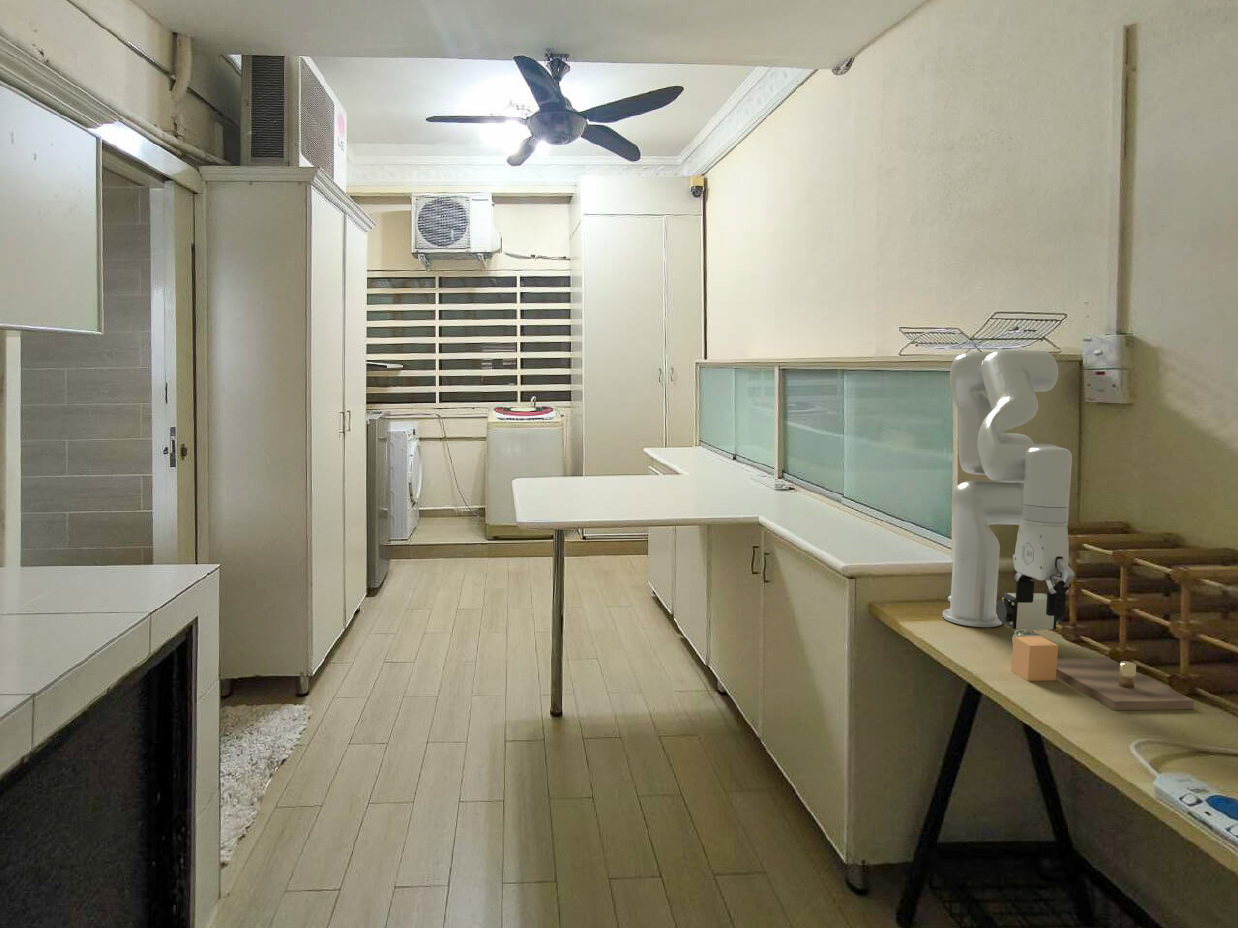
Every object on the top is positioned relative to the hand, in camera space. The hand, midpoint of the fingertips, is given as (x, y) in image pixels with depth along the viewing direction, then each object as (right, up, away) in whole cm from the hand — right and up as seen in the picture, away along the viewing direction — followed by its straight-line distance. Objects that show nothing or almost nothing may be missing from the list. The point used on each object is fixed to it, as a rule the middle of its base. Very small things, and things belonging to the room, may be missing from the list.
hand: (1039, 608), depth 159 cm
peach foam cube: (0, -13, +2) cm, 13 cm away
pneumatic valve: (+6, -11, +19) cm, 23 cm away
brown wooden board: (+11, -13, -3) cm, 18 cm away
